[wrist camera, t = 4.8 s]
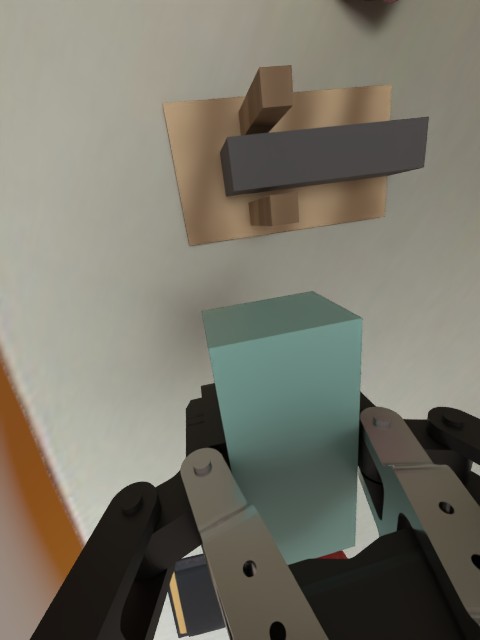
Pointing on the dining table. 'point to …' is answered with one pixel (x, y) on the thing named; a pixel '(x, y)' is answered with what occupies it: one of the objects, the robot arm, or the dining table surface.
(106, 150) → the dining table surface
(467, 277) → the dining table surface
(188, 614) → the black book
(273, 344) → the block
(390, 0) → the video game controller
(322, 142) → the bar
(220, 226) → the board
